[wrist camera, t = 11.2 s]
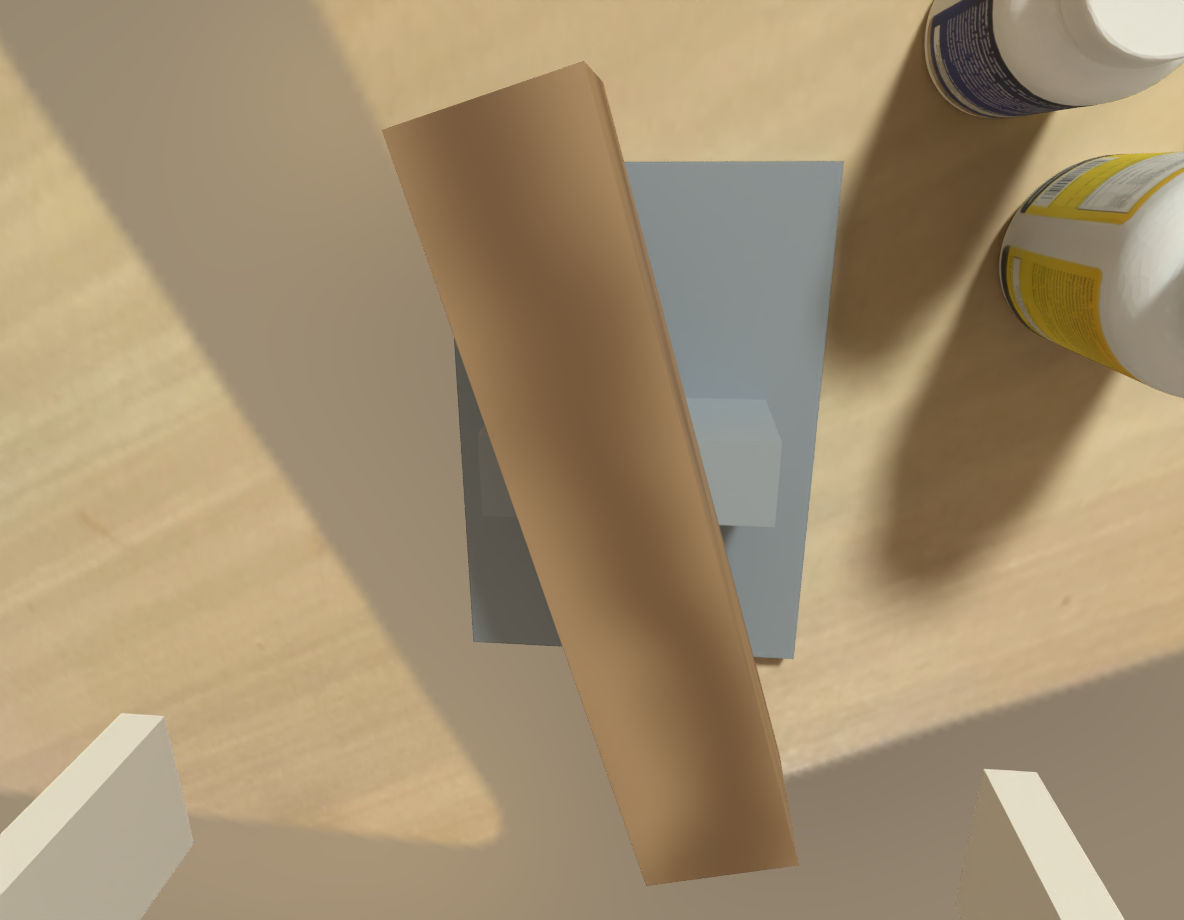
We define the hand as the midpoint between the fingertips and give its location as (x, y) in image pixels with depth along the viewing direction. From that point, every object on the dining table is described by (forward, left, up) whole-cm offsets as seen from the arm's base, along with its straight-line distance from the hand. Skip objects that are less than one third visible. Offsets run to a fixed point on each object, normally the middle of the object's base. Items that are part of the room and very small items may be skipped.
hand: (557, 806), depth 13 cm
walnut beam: (0, 0, -15) cm, 15 cm away
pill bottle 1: (+12, +14, -21) cm, 28 cm away
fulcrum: (0, 0, -21) cm, 21 cm away
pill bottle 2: (+16, +7, -21) cm, 27 cm away
